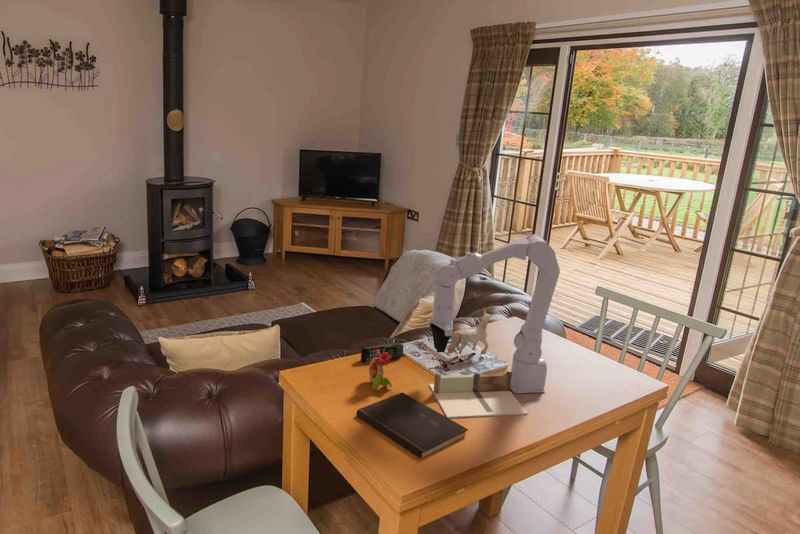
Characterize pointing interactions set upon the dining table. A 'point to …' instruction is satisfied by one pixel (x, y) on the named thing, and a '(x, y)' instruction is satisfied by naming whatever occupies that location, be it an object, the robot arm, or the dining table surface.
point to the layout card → (478, 403)
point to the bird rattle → (379, 370)
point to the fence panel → (453, 383)
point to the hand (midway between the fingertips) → (439, 350)
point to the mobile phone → (381, 351)
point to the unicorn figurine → (471, 336)
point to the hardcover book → (411, 424)
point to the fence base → (492, 382)
